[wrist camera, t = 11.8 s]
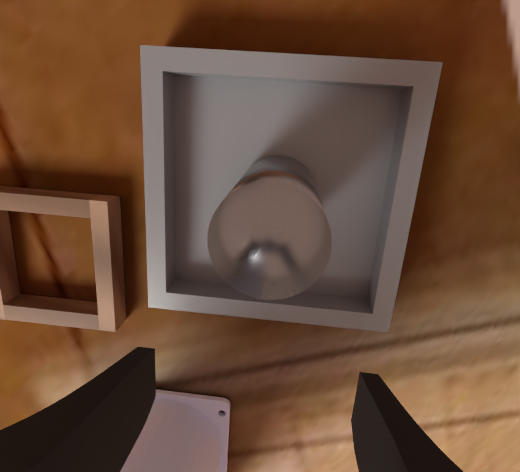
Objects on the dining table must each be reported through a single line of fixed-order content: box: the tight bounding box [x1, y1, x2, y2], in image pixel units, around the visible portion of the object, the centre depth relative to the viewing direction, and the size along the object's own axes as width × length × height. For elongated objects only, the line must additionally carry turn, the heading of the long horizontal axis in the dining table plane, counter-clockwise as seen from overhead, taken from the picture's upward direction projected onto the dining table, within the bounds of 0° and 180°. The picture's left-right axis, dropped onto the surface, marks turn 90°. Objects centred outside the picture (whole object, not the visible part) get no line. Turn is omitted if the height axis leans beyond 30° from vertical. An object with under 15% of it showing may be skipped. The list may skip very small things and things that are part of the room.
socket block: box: [0, 186, 126, 332], centre depth 22 cm, size 8×8×2 cm
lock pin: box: [207, 155, 332, 300], centre depth 16 cm, size 4×4×8 cm
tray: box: [140, 45, 443, 333], centre depth 19 cm, size 13×13×2 cm
